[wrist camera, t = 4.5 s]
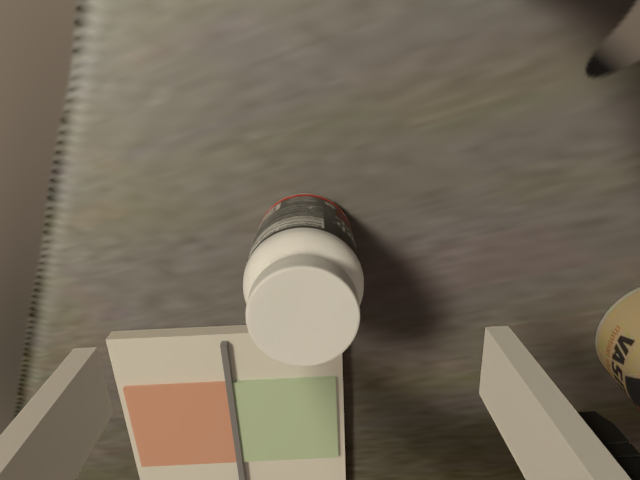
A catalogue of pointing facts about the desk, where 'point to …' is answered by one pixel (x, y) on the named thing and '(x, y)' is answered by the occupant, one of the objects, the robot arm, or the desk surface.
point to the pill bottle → (303, 282)
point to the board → (226, 407)
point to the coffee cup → (622, 343)
